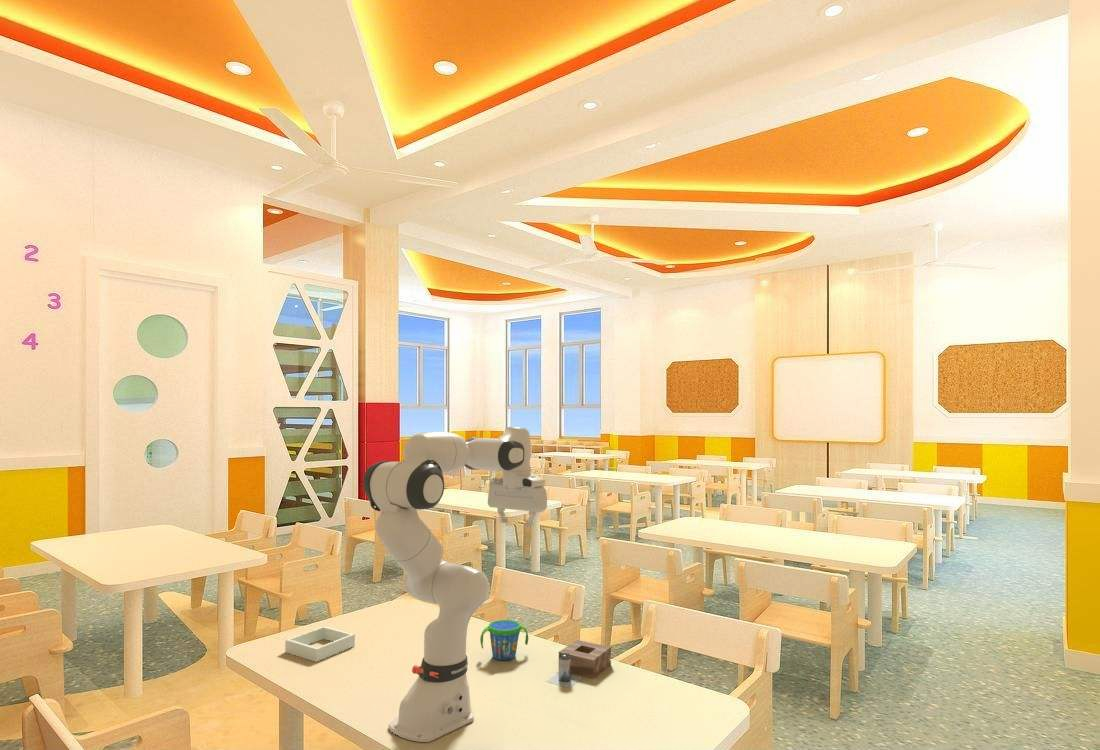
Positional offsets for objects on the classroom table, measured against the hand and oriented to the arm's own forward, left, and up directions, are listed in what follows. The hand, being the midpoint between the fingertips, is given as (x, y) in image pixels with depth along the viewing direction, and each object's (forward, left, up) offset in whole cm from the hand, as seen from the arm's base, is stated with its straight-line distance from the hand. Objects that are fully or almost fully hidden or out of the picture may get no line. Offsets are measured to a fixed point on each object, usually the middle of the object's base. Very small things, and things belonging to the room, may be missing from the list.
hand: (516, 524), depth 194 cm
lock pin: (+2, -16, -44) cm, 47 cm away
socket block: (+13, -17, -45) cm, 50 cm away
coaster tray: (-19, +66, -45) cm, 82 cm away
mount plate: (+2, -16, -45) cm, 48 cm away
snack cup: (+8, +10, -45) cm, 47 cm away
